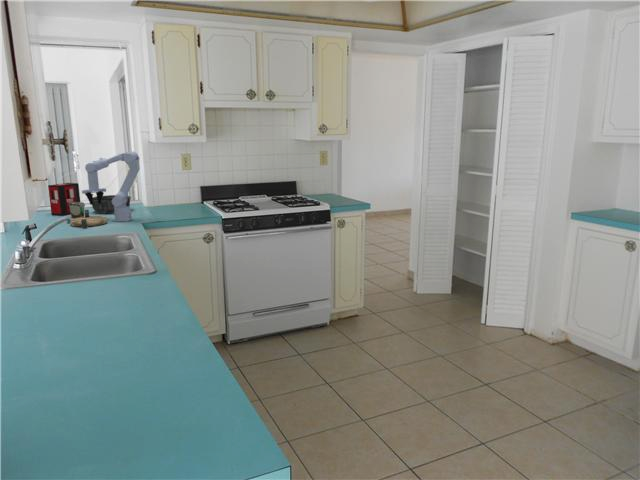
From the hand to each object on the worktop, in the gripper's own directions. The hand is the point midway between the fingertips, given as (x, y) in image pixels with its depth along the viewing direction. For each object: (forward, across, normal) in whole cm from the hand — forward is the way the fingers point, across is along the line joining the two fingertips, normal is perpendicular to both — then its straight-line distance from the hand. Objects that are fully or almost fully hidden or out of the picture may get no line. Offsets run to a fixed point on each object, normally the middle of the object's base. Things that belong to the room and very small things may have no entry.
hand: (95, 204), depth 307 cm
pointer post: (+10, +16, +17) cm, 25 cm away
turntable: (+10, +9, +8) cm, 16 cm away
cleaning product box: (+11, 0, -40) cm, 41 cm away
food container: (+11, +2, -17) cm, 20 cm away
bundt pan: (+11, -24, -24) cm, 35 cm away
